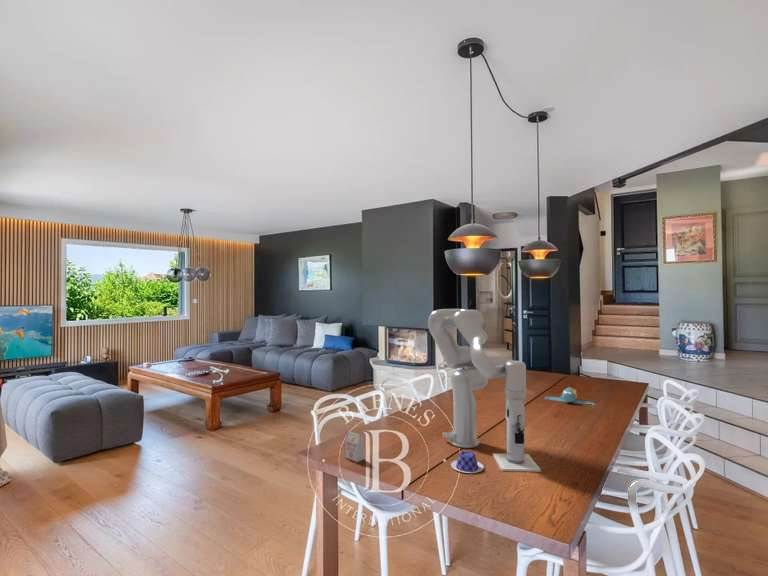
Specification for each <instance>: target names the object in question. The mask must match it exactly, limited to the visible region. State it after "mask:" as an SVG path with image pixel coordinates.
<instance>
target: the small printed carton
mask: <svg viewBox="0 0 768 576" xmlns="http://www.w3.org/2000/svg"><path fill="white" fill-rule="evenodd" d="M346 433H347V434H346V436H345V440H344V458H345V459H347V460H350V461H352V462H354V463H359V462H362V461H363V460H364V442H363V440H362V436H361V434H358V433H355V432H353V431H350V430H348V431H347V432H346Z"/></svg>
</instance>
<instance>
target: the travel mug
mask: <svg viewBox="0 0 768 576" xmlns="http://www.w3.org/2000/svg"><path fill="white" fill-rule="evenodd" d="M517 419H518V418H517ZM516 424H519V423H516ZM517 428H519V427H517ZM515 432H516V430H515V425H513V426H511V425H510V424H509V410H508V409H507V420H506V454H507V460H508V461H509V462H511V463H515V464H521V463H523V462H524V454H525V443H524V444H516V443H515Z"/></svg>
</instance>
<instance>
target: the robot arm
mask: <svg viewBox="0 0 768 576" xmlns="http://www.w3.org/2000/svg"><path fill="white" fill-rule="evenodd" d="M484 322H485V321H484V316H483V313H481V312H480V311H479V310H477V309H465V308H441V309H436V310H433V311H432V312H431V313H430V314H429V317H428V320H427V327H428V330H429V333H430V334H431V336H432V338H433V340H434V341H435V343H436V345H437V347H438V349H439V352H440V354H441V357H442V358H443V360H444V362H445V365H446V367H448V368H449V369H453V370H455V369H456V371H455V372H453V374H452V375H451V377H450V385H451V389H452V399H453V404H452V405H453V412H452V413H453V417H452V418H453V429H451V431H449V432H442V438H445V439H446V440H447V439H449V443H450V444H451V445H452V446H454V447H458V448H461V449H462V448H463V449H472V448H476V447H478V446H480V440H479V438H477V426H476V425H477V423H476V421H477V413H476V412H477V401H476V398H475V396H474V393H473V391H477V390H481V389H484V388H485V387H486V386H487V385H488V382H489V380H492V379H499V378H504V383H505V385H504V386H505V387H504V397H505V415H504V418H505V420H506V421H507V409H508V410H509V424H510V425H511V426H513V425H515V430H516V432H515V443H516V444H524V445H525V423H526V421H525V420H526V418H525V417H526V414H525V413H526V412H525V400H526V398H527V382H526V381H527V365H526V363H525V362H524V361H521V360H513V359H510V358H507V357H496V358H495V357H494V358H490V357H489V356H488V355H487V353H486V352H485V351H484V349H483V348H484V347H483V345H484V344H485V342H486V341H487V339H488V334H487V332H486V331H485V330H484V329H483V328H482V327H483V325H484ZM447 328H457V330H458V332H459V333H460V334H461V335H462V337H463V338H464V340H465V341H466V343H467V344H468V345H469V346H468V345H463V346H460V345H459V344H458V342H457V340H456V338H455V335H453V333H451V331H449V330H448V329H447ZM457 369H459V370H457ZM517 418H518V419H517ZM516 423H519V424H516ZM517 427H519V428H517Z"/></svg>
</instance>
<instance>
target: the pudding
mask: <svg viewBox="0 0 768 576" xmlns="http://www.w3.org/2000/svg"><path fill="white" fill-rule="evenodd" d="M450 467H451V468H452V469H454V470H455V471H458V472H460V473H466V474H475V473H480V472H482V471H483V470H484V465H483V464H482V463H481V462H479V461H477V456H476V454H475V453H474V452H472V451H469V450H466V451H465V450H463V451H461V452H459V453H458V457H457V459H456V460H453V461H452V462H451V463H450ZM458 469H459V470H458ZM460 470H462V471H460Z"/></svg>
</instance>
